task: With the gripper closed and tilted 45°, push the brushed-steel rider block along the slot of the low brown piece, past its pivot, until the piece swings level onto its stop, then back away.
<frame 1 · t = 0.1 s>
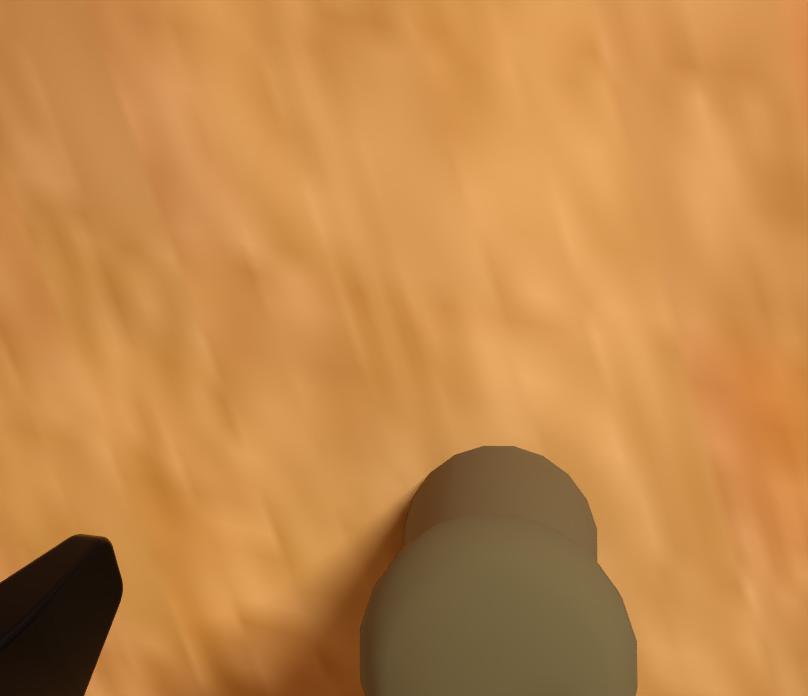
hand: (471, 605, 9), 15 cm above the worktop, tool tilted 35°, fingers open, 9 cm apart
cork: (499, 540, 24), on the worktop
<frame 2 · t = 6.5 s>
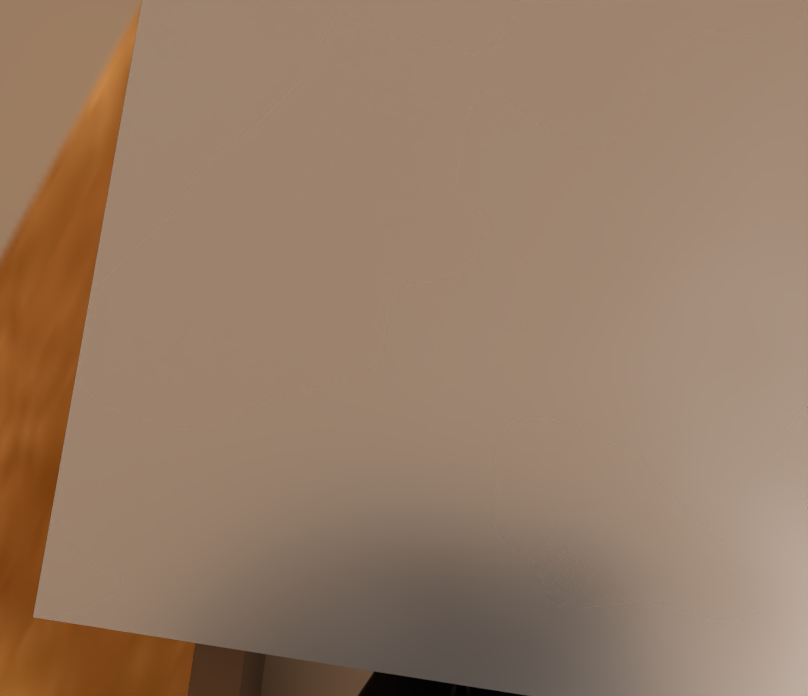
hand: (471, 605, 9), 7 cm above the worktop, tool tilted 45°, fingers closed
brown piece: (524, 220, 13), point 4 cm above the worktop, hinge at -5.4°, touching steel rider
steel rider: (510, 366, 13), point 4 cm above the worktop, tilted 5°, touching gripper, brown piece
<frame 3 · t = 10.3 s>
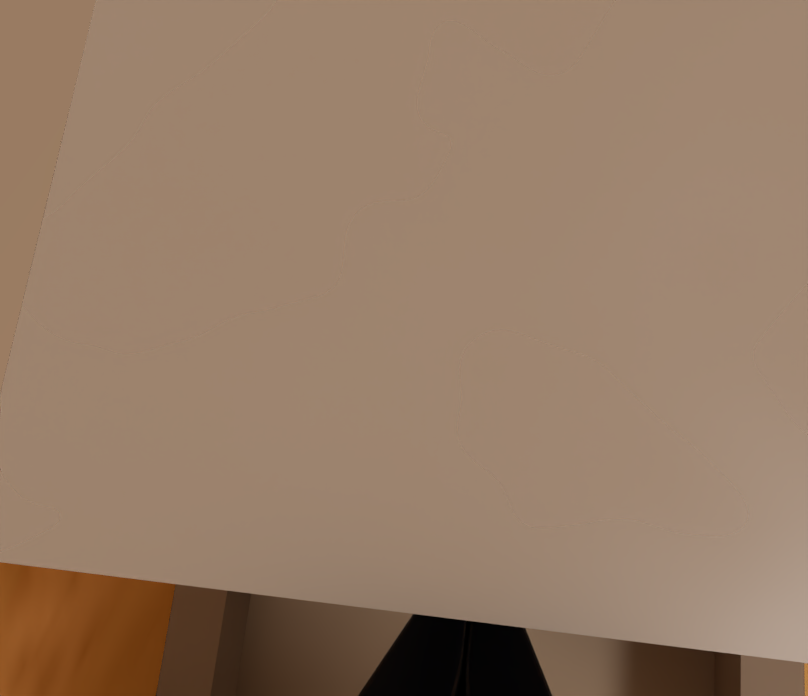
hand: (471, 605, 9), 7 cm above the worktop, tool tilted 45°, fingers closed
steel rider: (491, 386, 13), point 4 cm above the worktop, touching gripper, brown piece
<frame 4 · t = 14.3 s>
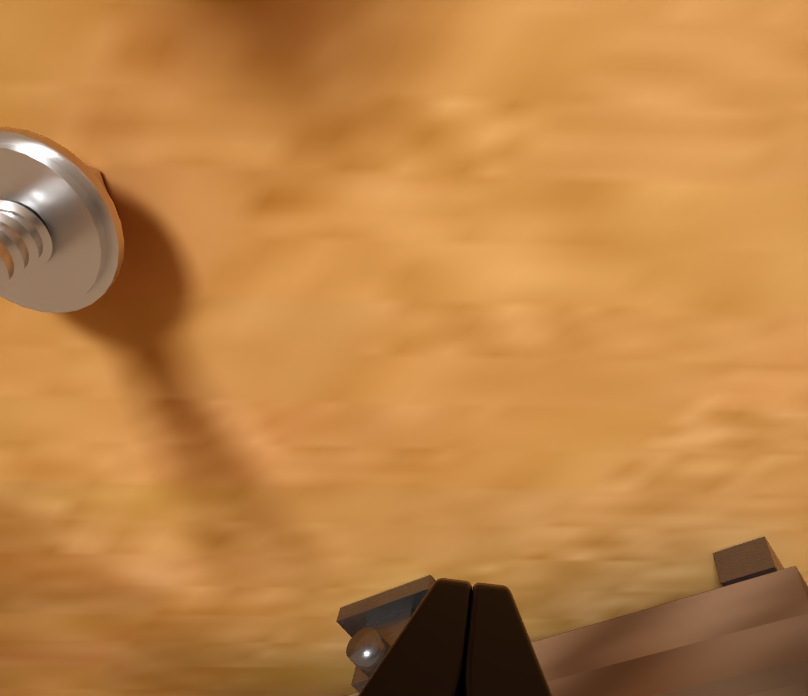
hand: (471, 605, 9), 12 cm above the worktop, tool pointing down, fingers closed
screw: (74, 196, 21), on the worktop
pivot stand: (473, 691, 29), on the worktop
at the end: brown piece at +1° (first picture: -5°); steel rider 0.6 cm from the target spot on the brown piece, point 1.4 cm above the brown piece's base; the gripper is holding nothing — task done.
